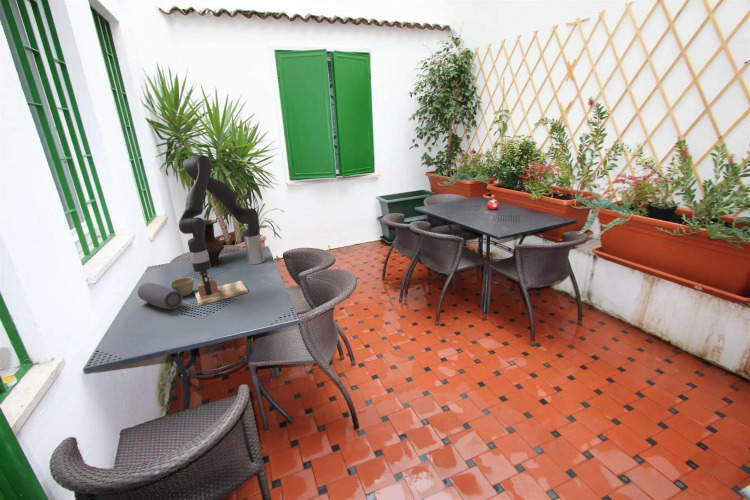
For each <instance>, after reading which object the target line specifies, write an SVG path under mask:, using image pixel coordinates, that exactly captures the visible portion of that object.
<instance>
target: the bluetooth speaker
mask: <svg viewBox="0 0 750 500" xmlns="http://www.w3.org/2000/svg"><path fill="white" fill-rule="evenodd" d="M137 296H138V297H139V299H140V300H142V301H144V302H146V303H149V304H151V305H152V306H156V307H158V308H160V309H164V310H167V309H168V310H174V309H177V308H178V307H180V306H181V304H182V302H183V300H184V296H182V294H181V293H180V292H178V291H176V290H174V289H173V288H172V287H169V286H165V285H161V284H158V283H153V282H146V283H143V284H141V285H140V286H139V288H138V290H137Z"/></svg>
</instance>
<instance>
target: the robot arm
mask: <svg viewBox="0 0 750 500" xmlns="http://www.w3.org/2000/svg"><path fill="white" fill-rule="evenodd" d="M182 166H183V169H184V171H185V173H186V174H187V175H188V176H189V177H190V178H191V179H193V180H194V181H195V182H194V183H193V185H192V187H191V188H190V189H189V191H188V193H187V196H186V200H185V209H184V210H183V212H182V215H181V217H180V219H179V221H178V229H179V231H180V232H181V233H182V234H184V235H188V234H190V235H191V234H193V233H196V234H197V235H196V237H195V238H193V237H191V238H189V239H188V240H187V245H188V250H189V257H190V260H191V263H192V264H191V265H192V269H193V271H194V272H196V273H198V275H199V278H200V282H202V284H204V288H205V290H206V295H207V296H208V295H211V294H212V293H211V289H210V287H211V285H210V280H211V279H210V278H211V277H210V272H209V270H210V269H211V268H212V266H211V263H210V259H209V255H208V252H207V248H206V244H205V222H204V220H205V219H203V218H202V217H201V216H200V215H202V214H203V211H204V210H203V209H204V200H205V194H206V191H208V192H209V193H210V195H212V196H213V197H214V199H216V200H217V201H218V202H219V203H220V204H221V205H222V206H223V207H224V208H225V209H226V210H227V211H229V213H230V214H231V215H232V216H233V218H234V219H235V220H236V221H237V222H238V223H240V224H241V225H247V226H248V227H247V229H244V230H243V231H242V237H243V242H244V246H245V251H246V257H247V262H248V264H249V265H259V264H262V263H264V262H266V257H265V252H264V247H263V244H262V240H261V235H260V222H259V213H258V212H257V209H255V208H251V207H250V208H248V207H247V208H246V207H245V208H244V207H243V206H241V205H240V204H239V203H238V202H237V196H236V192H235V191H234V190H233V189H232V188H231V187H230V186H229V185H228V184H227V183H225V182H224V181H221V180H219V179H216V178H213V177H212V176H211V174H212V170H213V167H212V162H211V160H210V158H209V157H207V156H206V155H202V154H201V155H197V156H192V157H189V158H186V159H184V160H183V163H182ZM198 216H200V217H198ZM206 284H209V285H207V286H206Z"/></svg>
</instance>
